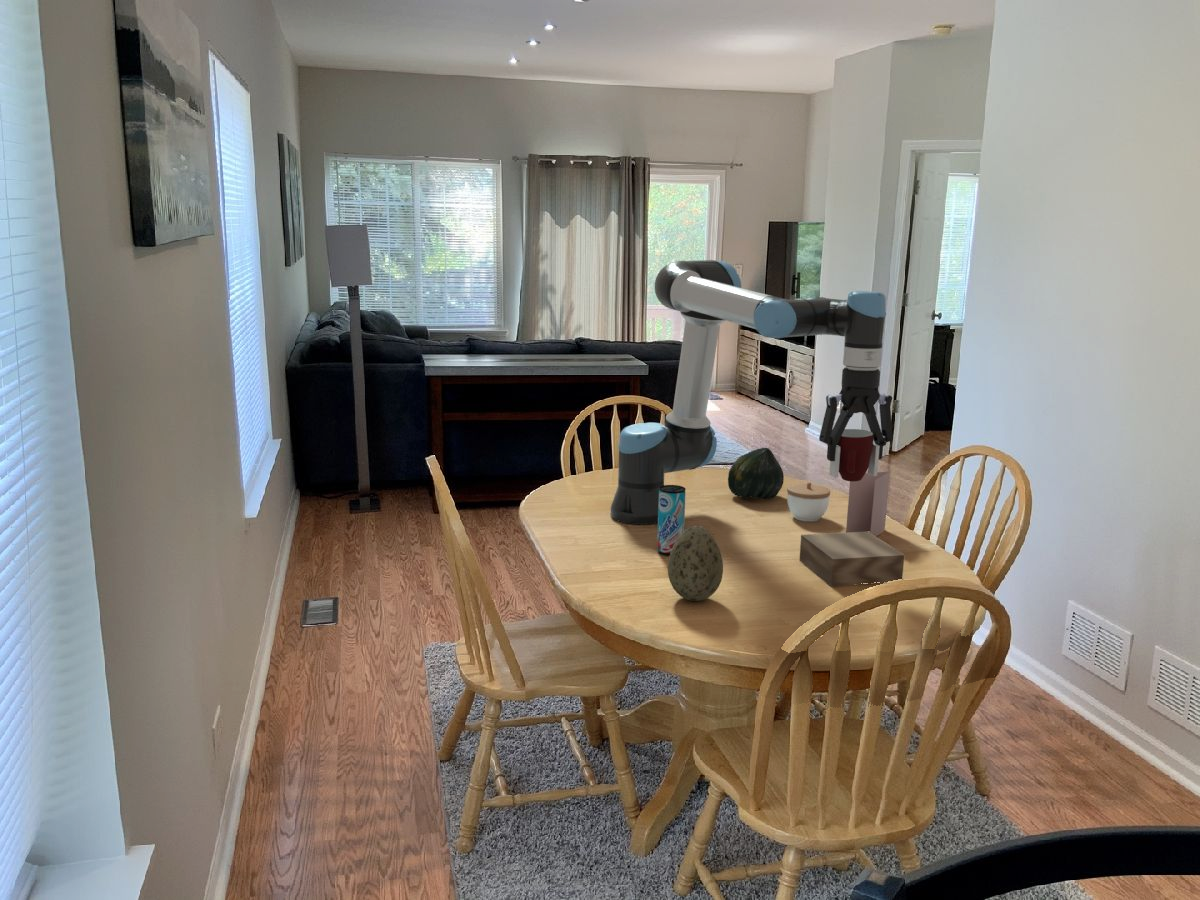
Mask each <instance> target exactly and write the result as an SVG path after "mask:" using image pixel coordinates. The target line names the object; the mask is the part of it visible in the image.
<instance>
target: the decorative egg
mask: <svg viewBox="0 0 1200 900" xmlns="http://www.w3.org/2000/svg"><path fill="white" fill-rule="evenodd" d="M723 561H724V560H723V556H722V552H721V550H720V548H719V545H718V543H717V541H716V539H715V538H714V537H713V534H711V532H709V531H708V530H707V529H706V528H704V527H703V526H700V525H693V526H689V528H687V529H684V532H683V533H682V534H681V535H680V536H679V538H678V539H677V540H676V542H675V544H674V546H673V548H672V550H671V553H670V555H668V560H667V575H668V581H669V582H670V585H671V588H672V589H673V590H674V591H675V592H676V594H677V595H679V596H680V597H681V598H683V599H684V600H686V601H687V600H688V601H691V602H700V601H704V600H706V599H708V598H710V597H711V596H712V595H713V594H715V592H717V590H718V588H719V587H720V584H721V583H722V579H723V575H724V562H723Z"/></svg>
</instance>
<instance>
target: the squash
mask: <svg viewBox="0 0 1200 900" xmlns="http://www.w3.org/2000/svg"><path fill="white" fill-rule="evenodd" d="M784 480H785V479H784V471H783V468H782V467H781V465H780V463H779V461H778V460H777V458H776V456H775V455H774V453H773V451H772V450H771V449H770V448H769V447H760V448H757V449H754V450H751V451H749V452H747V453H745V454H743V455H741V456H739V457H738V458H737V459H736V460H734V462H733V463H732V465H731V466H730V469H729V470H728V477H727V484H728V489H729V490H730V492H731V493H732V495H734V496H736V497H738V498H739V497H740V498H742V499H749V498H751V499H757V498H758V499H762V500H772V499H775V498H776V497H777V495H778V494H779V492H780V491H781V489H782V488H783V486H784Z"/></svg>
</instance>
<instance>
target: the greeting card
mask: <svg viewBox="0 0 1200 900" xmlns="http://www.w3.org/2000/svg"><path fill="white" fill-rule="evenodd" d="M890 474H891V471H878V472H877V476H873V475H871V474H869V473H868V472H866V473H865V475H864V476H863V478H862V480H860V481H849V491H848V500H847V501H848V502H847V503H848V504H847V513H846V514H847V515H846V525H845V526H846V528H845V529H846V530H845V533H847V532H867V531H870V533H871V534H873V535H874V536H877V535H878V536H879V535H881V532H882V531H883V530H884V529H885V530H886V519H887V517H886V516H887V508H888V507H887V506H888V496H889V484H890ZM885 530H884V531H885ZM884 531H883V532H884ZM883 532H882V533H883ZM878 536H877V537H878Z"/></svg>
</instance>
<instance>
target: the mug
mask: <svg viewBox="0 0 1200 900" xmlns="http://www.w3.org/2000/svg"><path fill="white" fill-rule="evenodd" d="M873 443H874V440H873V433H872V432H871V431H869V430H865V429H859V428H857V429H856V428H855V429H854V428H847V429H846V428H845V429H844V432H843V434H842V436H841V438H840V440H839V442H838V444H837V445H838V446H840V447H841V448H840V461H839V475H840V477H841V479H842V480H843V481H846V482H850V481H860V480H862V478H863V476H864V475H865V473H867V472H868V466H869V462H870V458H871V453H872V449H873Z"/></svg>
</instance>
